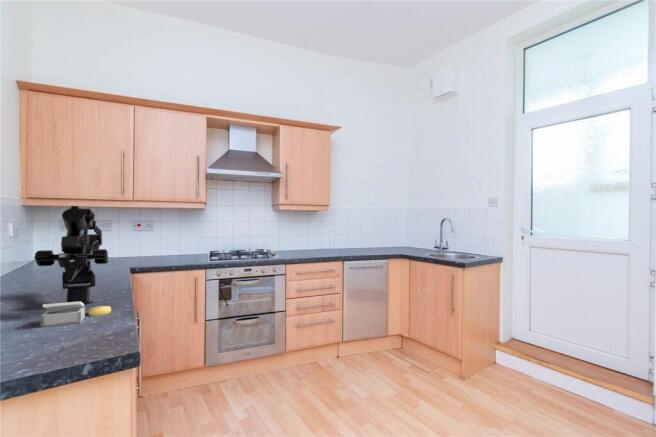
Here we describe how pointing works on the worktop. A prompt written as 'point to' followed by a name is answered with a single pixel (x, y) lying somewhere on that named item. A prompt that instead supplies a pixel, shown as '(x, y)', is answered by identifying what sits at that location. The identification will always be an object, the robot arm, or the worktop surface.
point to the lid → (63, 305)
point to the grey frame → (62, 317)
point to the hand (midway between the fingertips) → (69, 280)
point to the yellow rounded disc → (99, 310)
